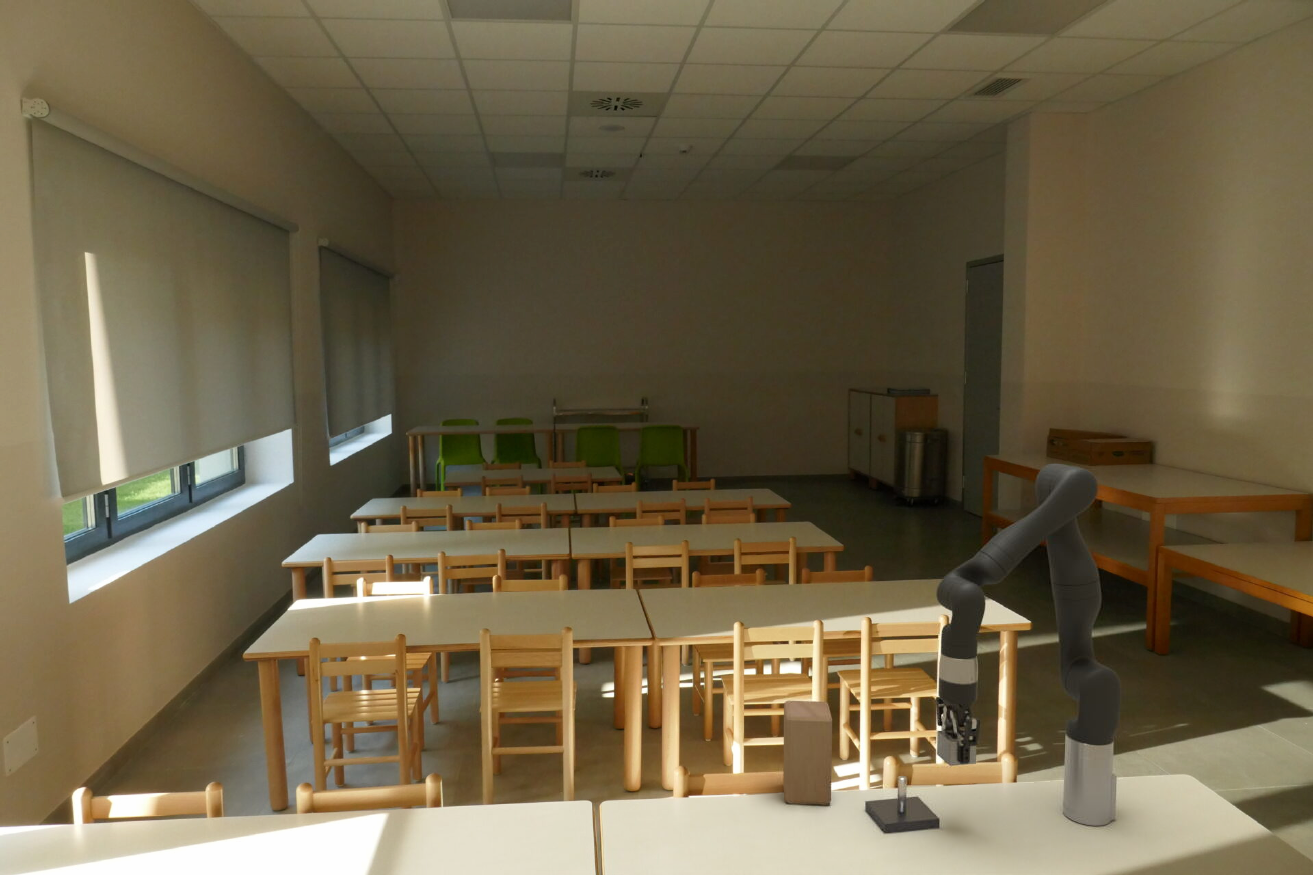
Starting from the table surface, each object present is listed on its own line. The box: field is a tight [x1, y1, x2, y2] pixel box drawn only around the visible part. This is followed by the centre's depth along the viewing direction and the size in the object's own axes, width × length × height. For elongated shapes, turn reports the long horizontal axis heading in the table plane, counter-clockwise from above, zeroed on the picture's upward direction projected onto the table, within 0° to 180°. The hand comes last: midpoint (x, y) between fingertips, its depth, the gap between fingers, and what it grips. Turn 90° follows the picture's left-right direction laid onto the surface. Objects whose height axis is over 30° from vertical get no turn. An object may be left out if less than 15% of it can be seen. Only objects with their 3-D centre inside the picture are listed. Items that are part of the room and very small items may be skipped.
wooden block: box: [782, 700, 833, 806], centre depth 207 cm, size 10×10×20 cm
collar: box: [936, 728, 977, 767], centre depth 191 cm, size 6×6×5 cm
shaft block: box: [864, 775, 941, 834], centre depth 196 cm, size 12×10×9 cm
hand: (956, 756), depth 191 cm, fingers closed on collar, 5 cm apart
